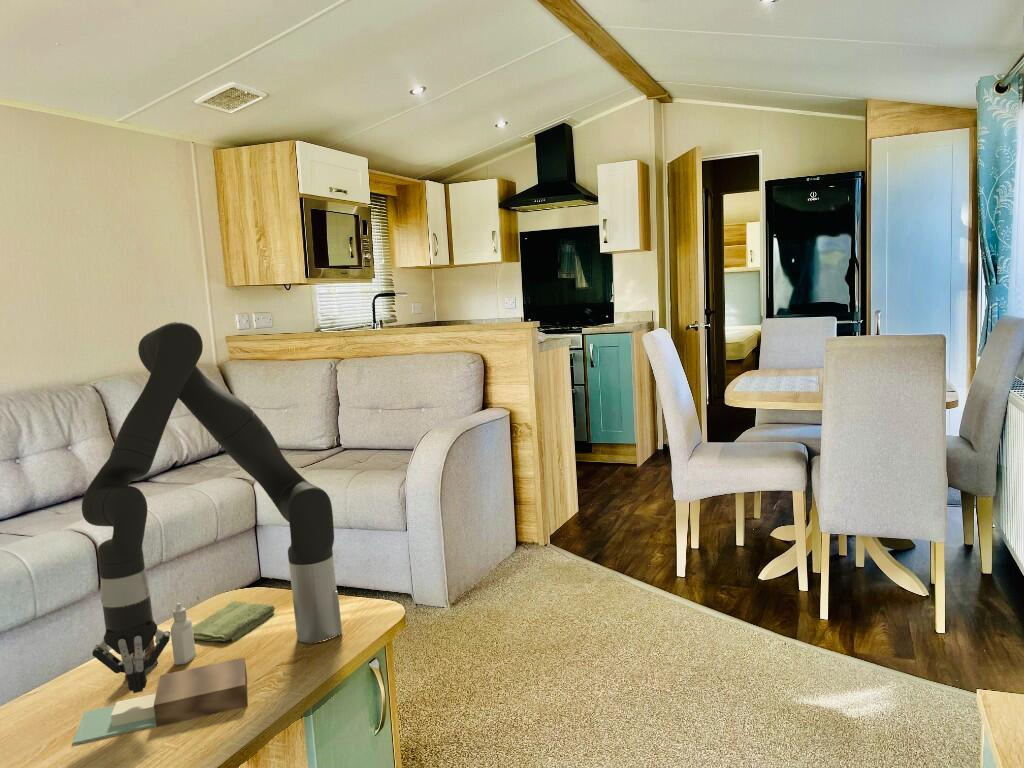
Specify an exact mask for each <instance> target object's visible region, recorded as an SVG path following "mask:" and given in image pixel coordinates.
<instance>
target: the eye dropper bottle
mask: <svg viewBox="0 0 1024 768" xmlns="http://www.w3.org/2000/svg"><path fill="white" fill-rule="evenodd" d="M186 610H187V609H186V607H182V604H181V603H180V602H177V603H176V607H175V609H173V611H172V614H173V616H172V617H173V623H172V624H171V627H170V638H171V645H172V646H171V648H172V652H173V653H172V654H173V662H174V665H177V666H178V665H185V664H188V663H189V662H191V661H192V660H193V659H194V658H195V656H196V654H197V652H196V646H195V643H196V642H195V639H194V635H193V622H192V620H191V618H189V617H187V611H186Z"/></svg>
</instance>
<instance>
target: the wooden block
mask: <svg viewBox="0 0 1024 768" xmlns="http://www.w3.org/2000/svg"><path fill="white" fill-rule="evenodd" d="M155 694H156V697H155V701H154V711H155V719H156V726H155V727H156V728H158V727H162V726H163V727H164V726H167V725H171V724H176V723H179V722H184V721H188V720H192V719H197V718H201V717H206V716H211V715H213V714H214V715H215V714H219V713H224V712H228V711H232V710H235V709H241V708H244V707H248V706H249V705H248V704H249V703H248V702H249V701H248V699H249V697H248V696H249V695H248V672H247V664H246V657H239V658H236V659H235V658H234V659H230V660H225V661H221V662H216V663H212V664H206V665H203V666H201V665H200V666H197V667H193V668H189V669H183V670H179V671H174V672H169V673H165V674H160V676H159V680H158V684H157V689H156V693H155Z"/></svg>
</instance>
